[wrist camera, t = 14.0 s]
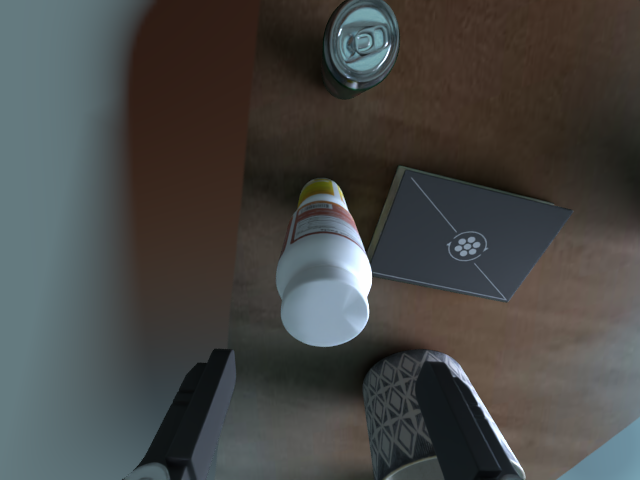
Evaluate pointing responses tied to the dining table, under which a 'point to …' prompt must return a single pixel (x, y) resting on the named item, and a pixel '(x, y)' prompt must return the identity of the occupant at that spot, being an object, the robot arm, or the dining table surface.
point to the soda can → (359, 47)
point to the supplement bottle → (321, 192)
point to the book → (460, 235)
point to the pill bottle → (323, 276)
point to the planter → (408, 418)
